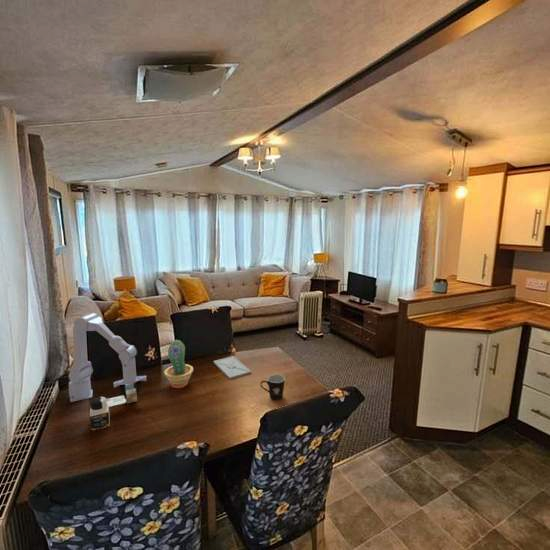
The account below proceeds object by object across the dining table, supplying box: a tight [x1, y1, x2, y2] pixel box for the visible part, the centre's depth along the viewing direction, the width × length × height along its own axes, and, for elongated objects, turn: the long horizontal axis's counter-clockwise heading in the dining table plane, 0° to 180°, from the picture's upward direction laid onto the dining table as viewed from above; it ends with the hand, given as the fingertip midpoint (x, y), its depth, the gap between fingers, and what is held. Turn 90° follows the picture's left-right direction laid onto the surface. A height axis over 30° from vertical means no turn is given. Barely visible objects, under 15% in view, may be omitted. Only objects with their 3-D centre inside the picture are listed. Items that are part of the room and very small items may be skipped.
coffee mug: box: [260, 374, 286, 401], centre depth 163 cm, size 12×9×10 cm
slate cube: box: [125, 383, 135, 390], centre depth 169 cm, size 4×4×4 cm
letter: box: [106, 394, 127, 408], centre depth 159 cm, size 11×8×1 cm
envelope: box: [213, 355, 252, 380], centre depth 195 cm, size 24×2×14 cm
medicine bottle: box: [89, 396, 111, 431], centre depth 140 cm, size 7×7×12 cm
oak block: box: [126, 387, 138, 404], centre depth 158 cm, size 4×4×4 cm
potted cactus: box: [163, 339, 194, 389], centre depth 174 cm, size 15×15×25 cm
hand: (131, 396), depth 158 cm, fingers closed on oak block, 4 cm apart
